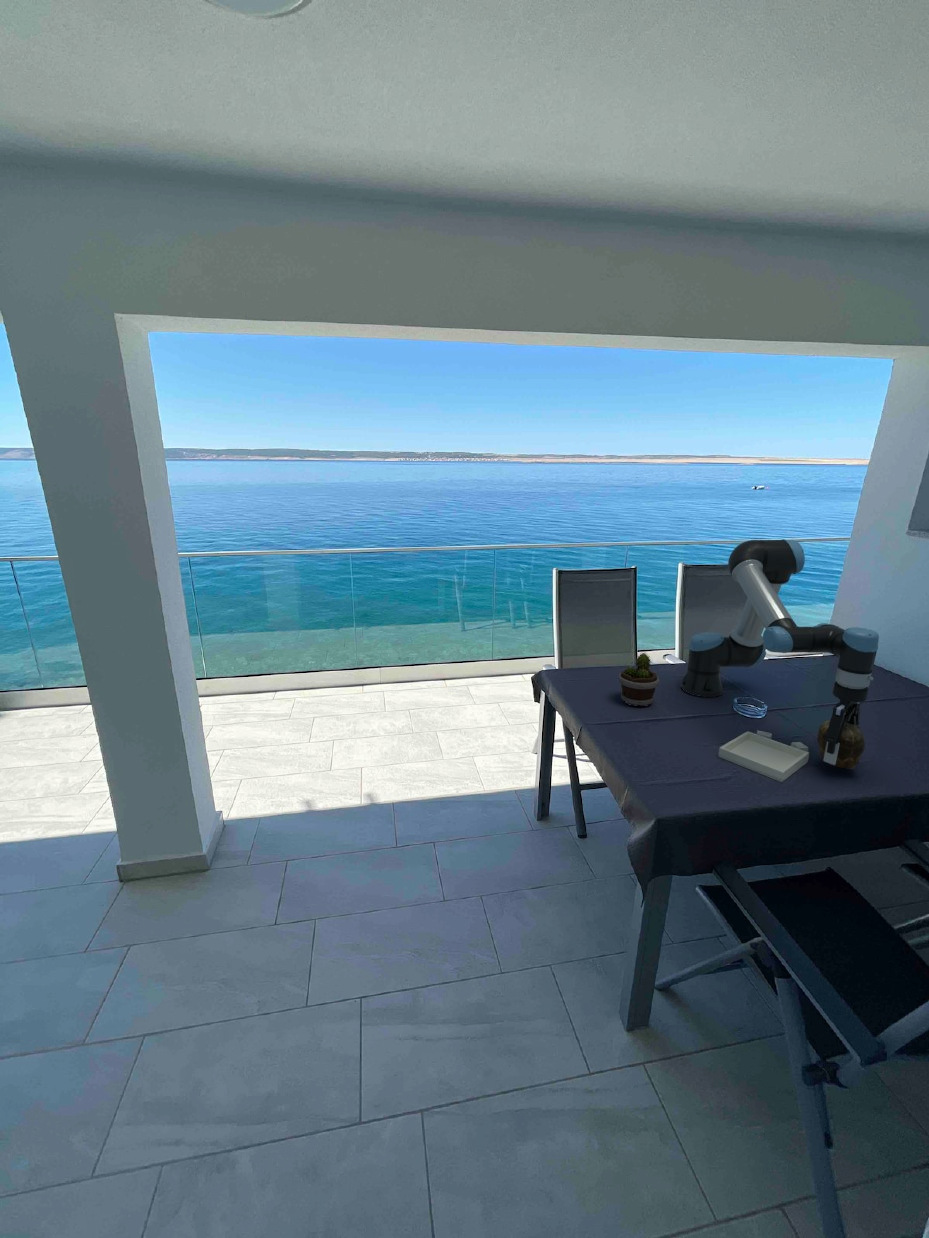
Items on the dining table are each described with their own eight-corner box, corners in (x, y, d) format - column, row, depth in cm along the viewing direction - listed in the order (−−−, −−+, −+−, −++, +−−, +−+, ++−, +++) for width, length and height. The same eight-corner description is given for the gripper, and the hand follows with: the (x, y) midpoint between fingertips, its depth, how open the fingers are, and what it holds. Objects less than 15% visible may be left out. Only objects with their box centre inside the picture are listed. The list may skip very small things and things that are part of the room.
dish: (718, 756, 152) (719, 747, 151) (746, 739, 162) (747, 731, 161) (781, 782, 138) (783, 772, 137) (807, 761, 148) (809, 752, 148)
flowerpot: (645, 714, 182) (649, 661, 177) (608, 701, 193) (611, 652, 188) (665, 702, 191) (669, 652, 186) (629, 691, 202) (632, 644, 197)
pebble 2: (790, 748, 156) (791, 742, 156) (799, 748, 156) (800, 742, 156) (798, 754, 153) (799, 748, 152) (807, 754, 153) (808, 747, 152)
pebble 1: (755, 740, 162) (756, 733, 161) (756, 736, 164) (757, 730, 164) (769, 743, 160) (770, 737, 159) (770, 740, 162) (771, 733, 161)
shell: (804, 752, 148) (810, 715, 145) (838, 750, 149) (846, 713, 146) (833, 772, 138) (841, 733, 135) (870, 770, 139) (879, 731, 136)
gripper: (852, 699, 128) (837, 775, 134) (882, 678, 141) (867, 748, 147) (818, 690, 134) (805, 763, 139) (850, 670, 147) (837, 738, 153)
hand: (837, 755), depth 143 cm, fingers closed on shell, 11 cm apart
